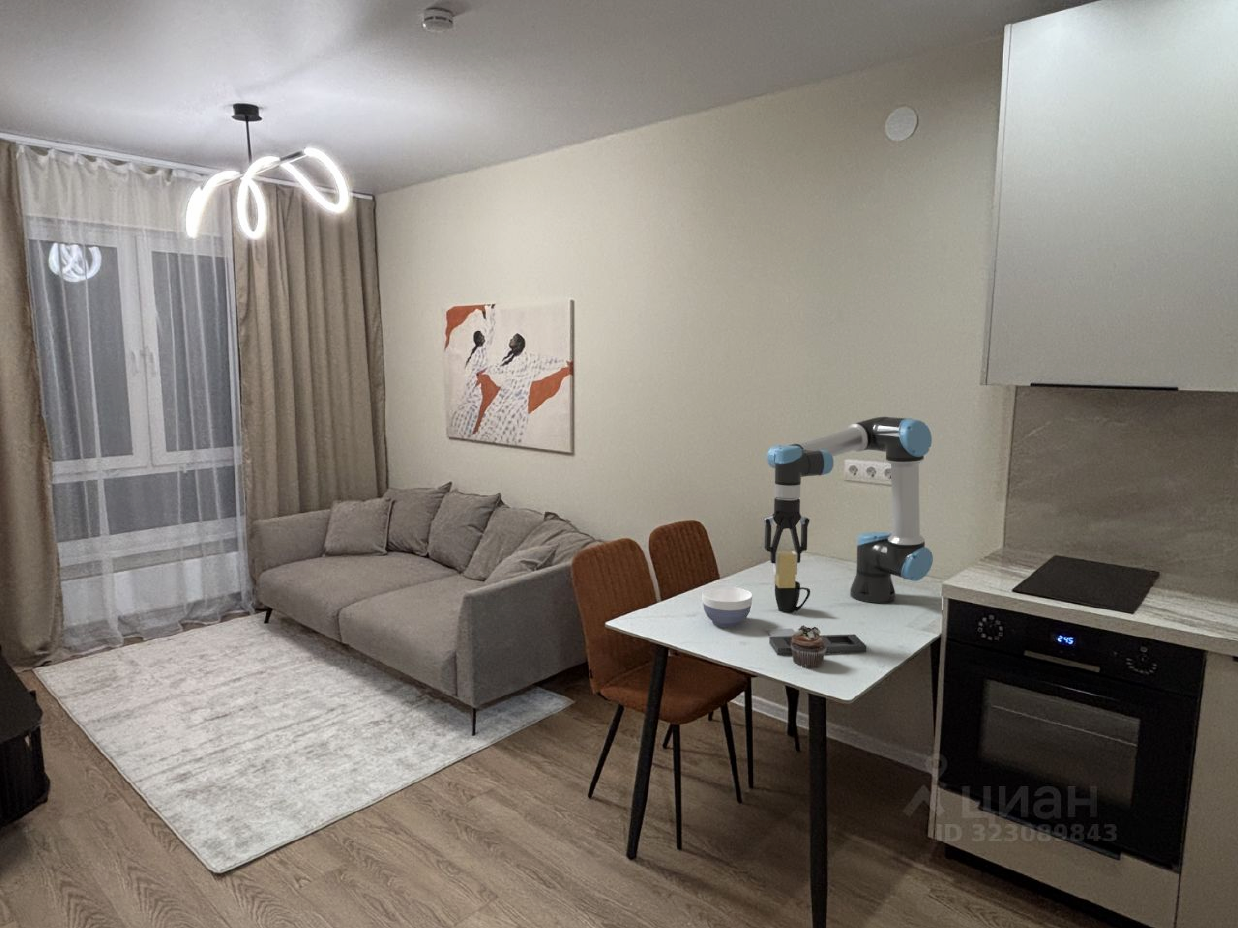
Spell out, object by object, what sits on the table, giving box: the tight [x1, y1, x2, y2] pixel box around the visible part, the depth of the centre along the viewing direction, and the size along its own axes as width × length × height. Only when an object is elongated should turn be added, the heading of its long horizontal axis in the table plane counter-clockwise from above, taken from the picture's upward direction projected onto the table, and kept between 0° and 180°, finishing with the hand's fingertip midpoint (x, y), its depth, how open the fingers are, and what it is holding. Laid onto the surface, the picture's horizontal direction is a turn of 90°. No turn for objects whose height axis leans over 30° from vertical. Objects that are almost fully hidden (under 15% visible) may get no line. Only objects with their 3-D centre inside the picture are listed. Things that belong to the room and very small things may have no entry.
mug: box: [774, 580, 811, 614], centre depth 252 cm, size 8×12×10 cm
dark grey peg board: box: [768, 634, 867, 656], centre depth 220 cm, size 26×9×2 cm, turn 94°
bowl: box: [701, 586, 753, 629], centre depth 241 cm, size 16×16×10 cm
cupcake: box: [790, 624, 826, 669], centre depth 210 cm, size 10×10×10 cm
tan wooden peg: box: [773, 550, 797, 588], centre depth 228 cm, size 5×5×10 cm
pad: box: [766, 628, 796, 637], centre depth 231 cm, size 8×8×1 cm
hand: (784, 573), depth 228 cm, fingers closed on tan wooden peg, 5 cm apart
